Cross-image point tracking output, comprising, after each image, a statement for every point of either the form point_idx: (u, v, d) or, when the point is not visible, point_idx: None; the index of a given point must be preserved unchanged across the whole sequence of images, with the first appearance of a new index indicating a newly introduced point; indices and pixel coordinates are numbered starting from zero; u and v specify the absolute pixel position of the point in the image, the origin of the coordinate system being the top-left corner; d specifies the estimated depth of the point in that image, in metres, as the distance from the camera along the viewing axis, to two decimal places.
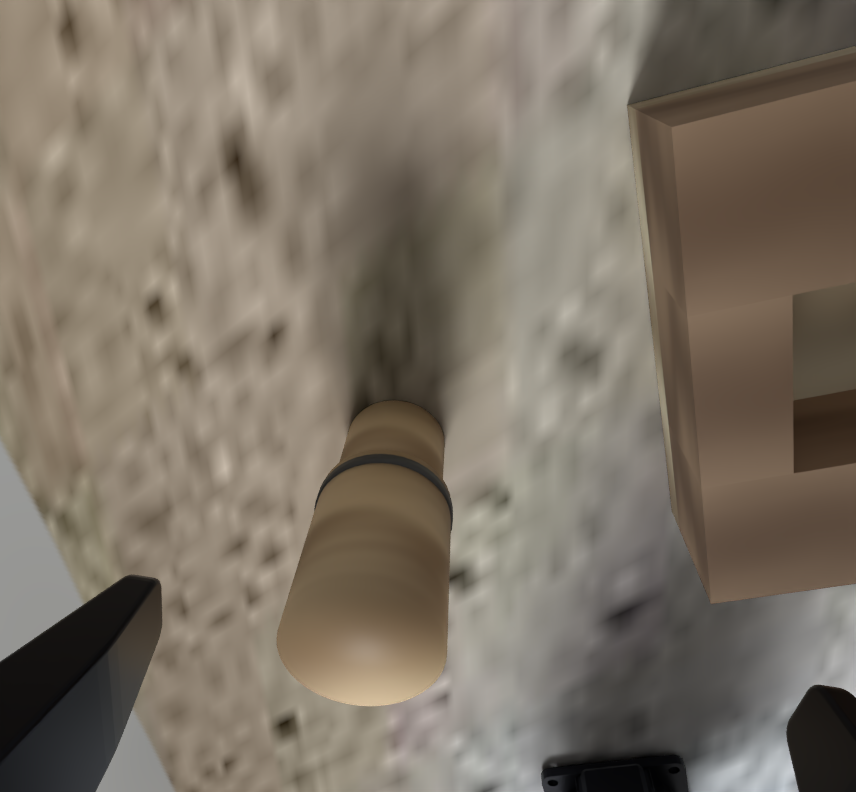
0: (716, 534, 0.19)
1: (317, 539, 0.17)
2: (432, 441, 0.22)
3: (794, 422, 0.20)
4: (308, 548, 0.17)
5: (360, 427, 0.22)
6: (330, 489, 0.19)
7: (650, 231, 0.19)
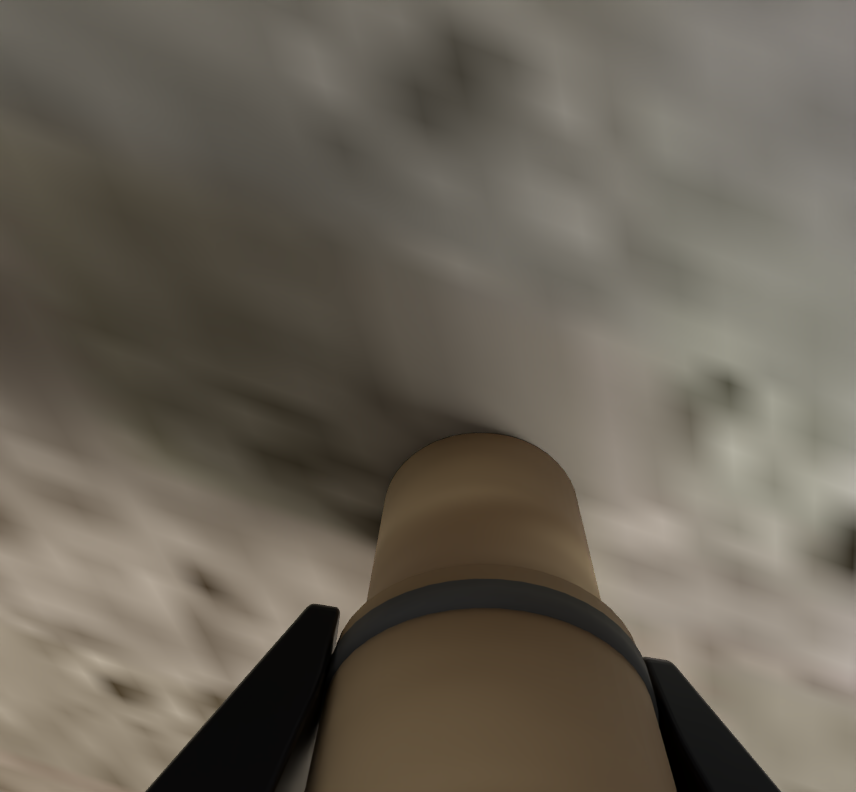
0: None
1: None
2: (456, 487, 0.10)
3: None
4: None
5: None
6: None
7: None
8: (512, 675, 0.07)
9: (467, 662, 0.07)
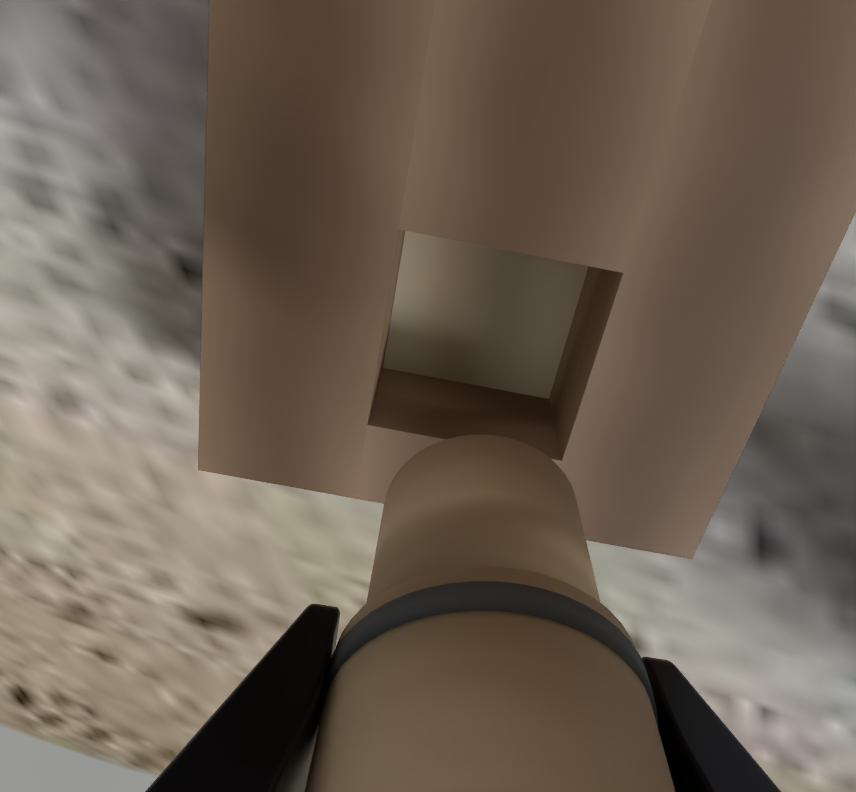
0: (601, 533, 0.19)
1: None
2: (456, 489, 0.10)
3: (561, 389, 0.20)
4: None
5: None
6: None
7: None
8: (511, 677, 0.07)
9: (467, 664, 0.07)
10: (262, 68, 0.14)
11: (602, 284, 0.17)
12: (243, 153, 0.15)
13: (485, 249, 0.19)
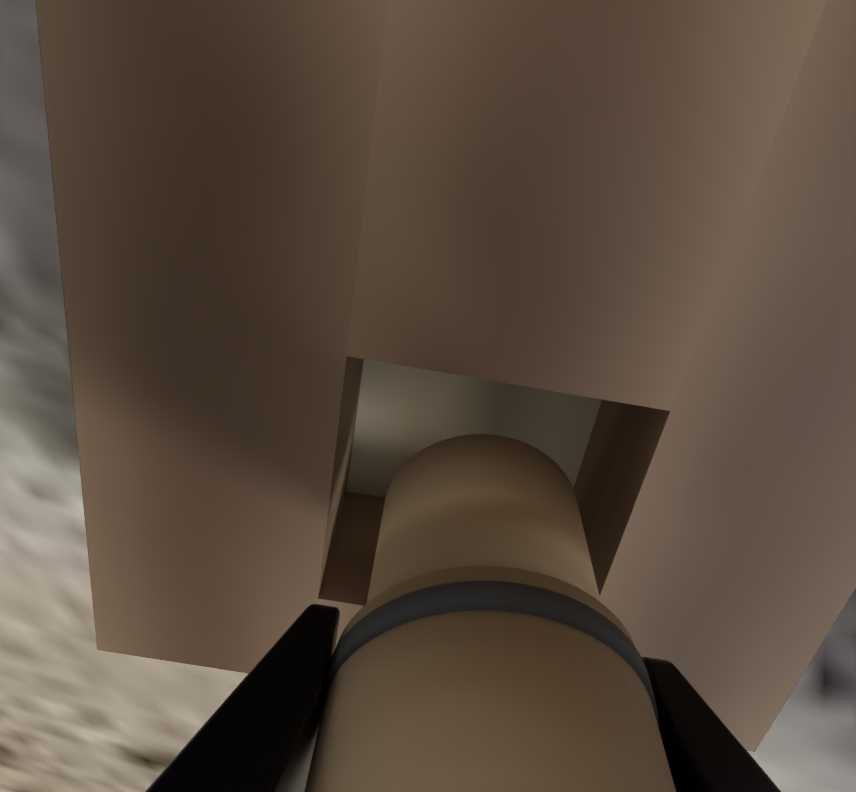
0: None
1: None
2: (456, 489, 0.10)
3: None
4: None
5: None
6: None
7: None
8: (512, 677, 0.07)
9: (467, 664, 0.07)
10: (130, 136, 0.09)
11: (635, 408, 0.12)
12: (114, 257, 0.10)
13: None
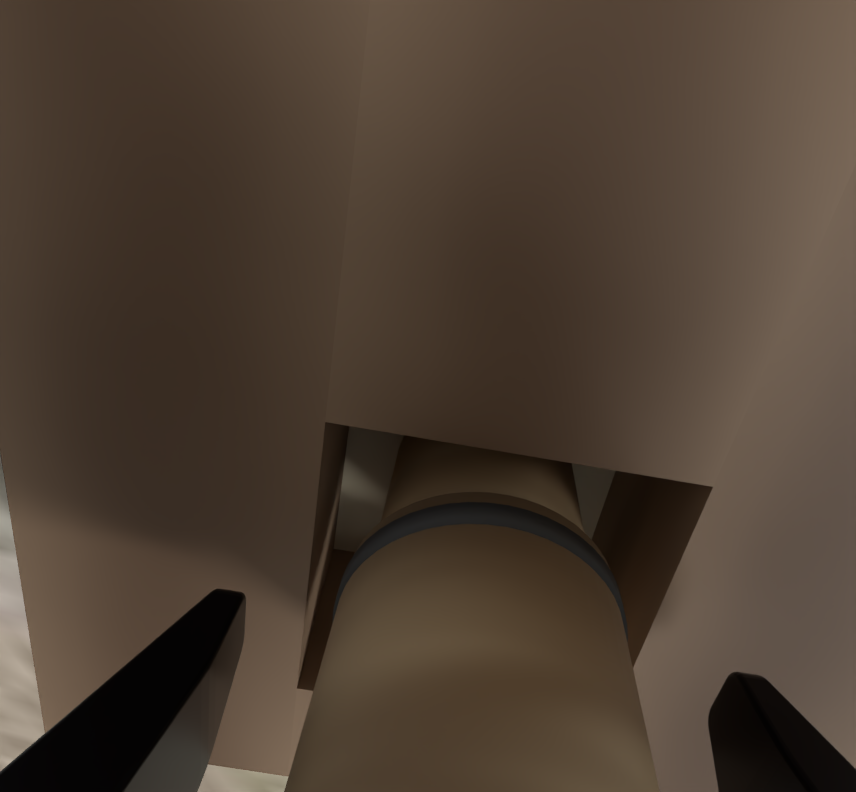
0: None
1: None
2: None
3: None
4: None
5: None
6: None
7: None
8: (494, 572, 0.08)
9: (457, 562, 0.08)
10: (53, 163, 0.08)
11: None
12: (43, 306, 0.08)
13: None
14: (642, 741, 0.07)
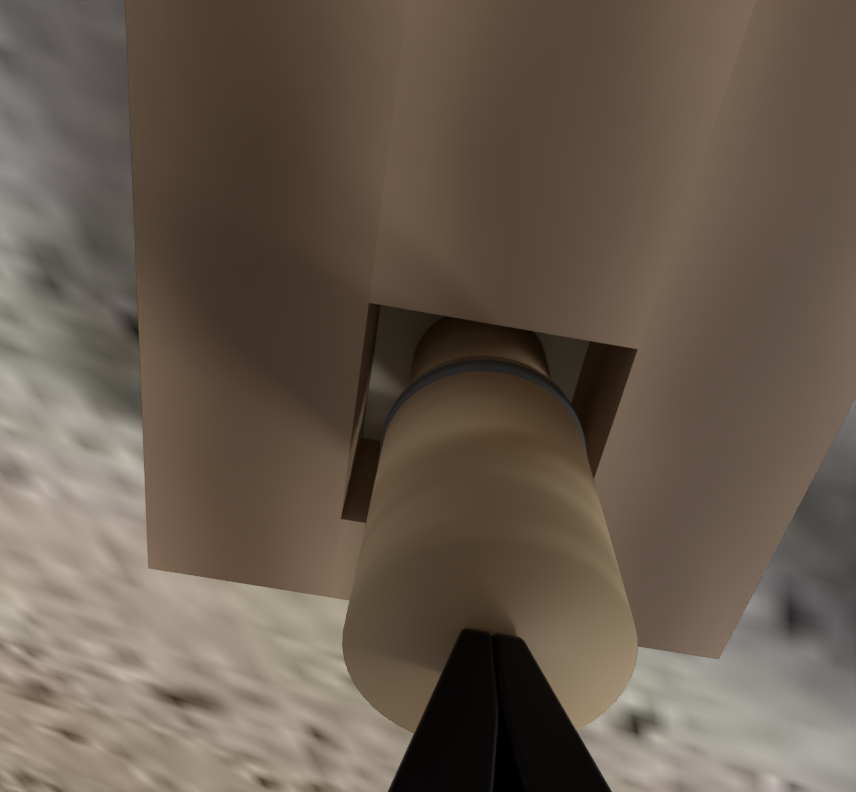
0: None
1: None
2: (463, 332, 0.15)
3: None
4: None
5: None
6: None
7: None
8: (496, 392, 0.12)
9: (471, 389, 0.12)
10: (196, 119, 0.11)
11: (612, 353, 0.15)
12: (179, 218, 0.12)
13: None
14: (592, 485, 0.11)
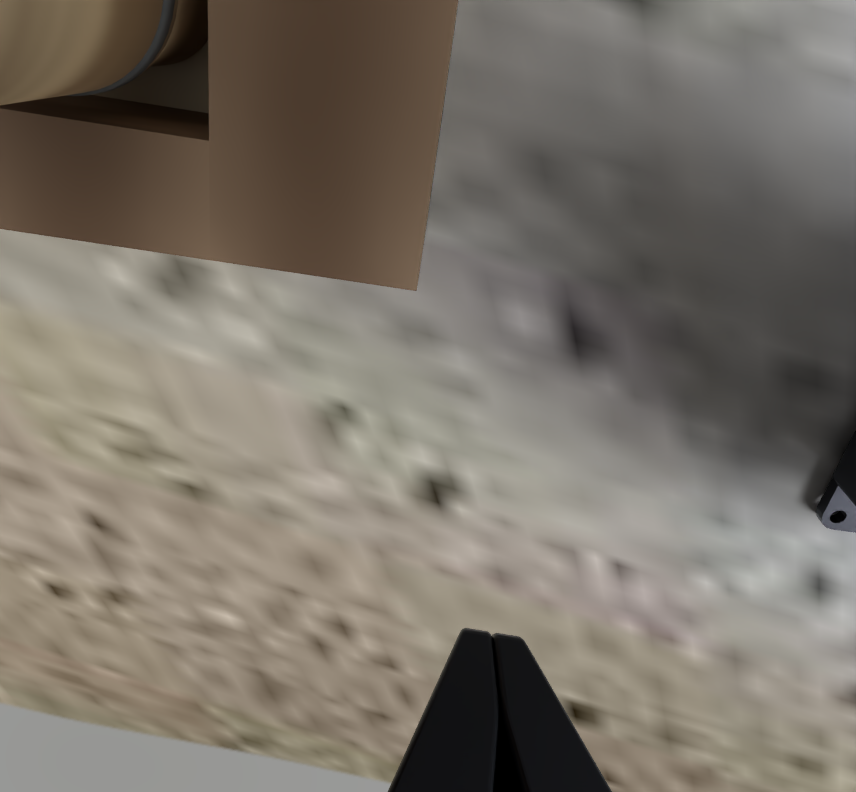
0: (290, 257, 0.14)
1: None
2: None
3: None
4: None
5: None
6: None
7: None
8: None
9: None
10: None
11: None
12: None
13: None
14: None
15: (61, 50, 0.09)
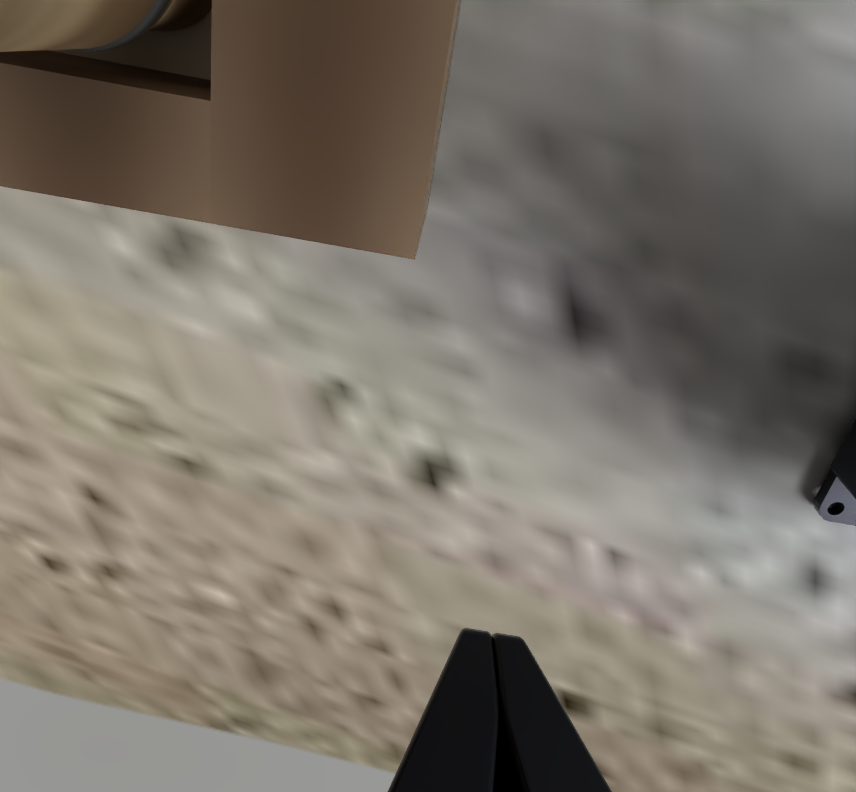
0: (289, 222, 0.14)
1: None
2: None
3: None
4: None
5: None
6: None
7: None
8: None
9: None
10: None
11: None
12: None
13: None
14: None
15: None
